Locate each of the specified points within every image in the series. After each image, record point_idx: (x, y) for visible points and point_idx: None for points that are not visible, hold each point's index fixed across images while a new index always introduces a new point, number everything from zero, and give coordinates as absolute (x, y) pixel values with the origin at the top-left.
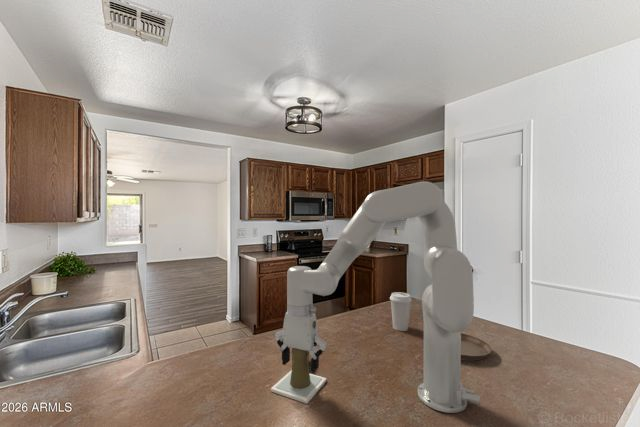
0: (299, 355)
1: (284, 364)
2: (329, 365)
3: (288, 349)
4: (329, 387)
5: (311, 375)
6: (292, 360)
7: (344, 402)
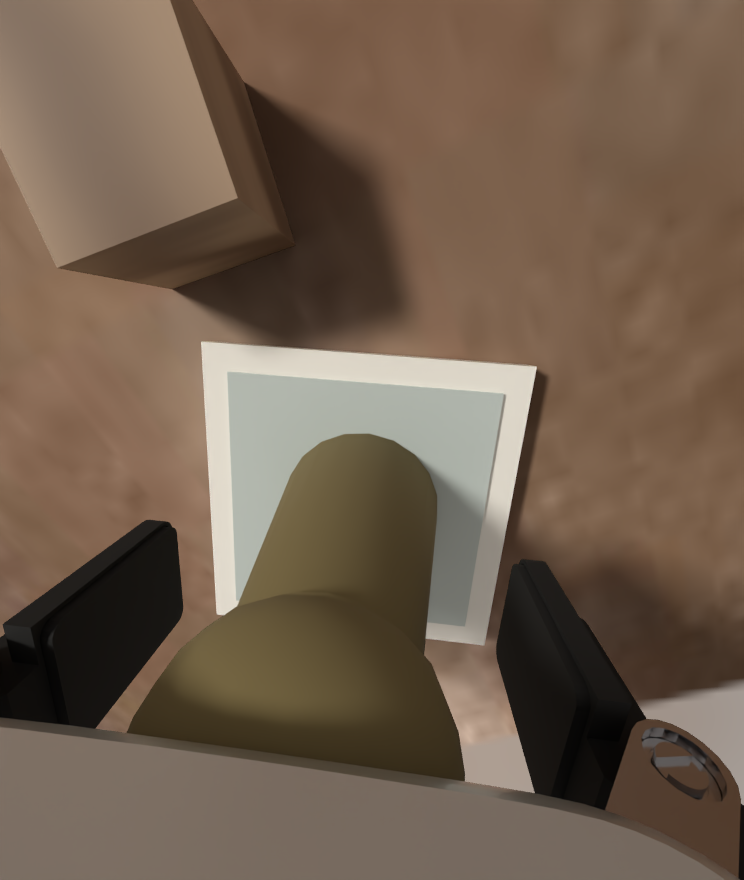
0: None
1: (179, 614)
2: (483, 73)
3: (58, 666)
4: (575, 436)
5: (400, 385)
6: (132, 280)
7: (714, 551)
